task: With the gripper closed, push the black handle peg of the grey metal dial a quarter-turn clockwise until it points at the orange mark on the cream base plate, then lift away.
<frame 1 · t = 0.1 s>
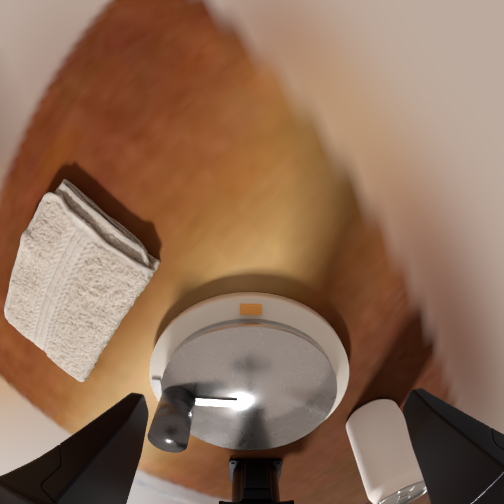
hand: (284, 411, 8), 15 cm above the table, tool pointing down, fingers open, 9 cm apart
dial base: (249, 379, 25), on the table
can: (370, 415, 27), on the table
washcloth: (74, 288, 23), on the table
dial: (249, 417, 21), point 5 cm above the table, hinge at 0.0°
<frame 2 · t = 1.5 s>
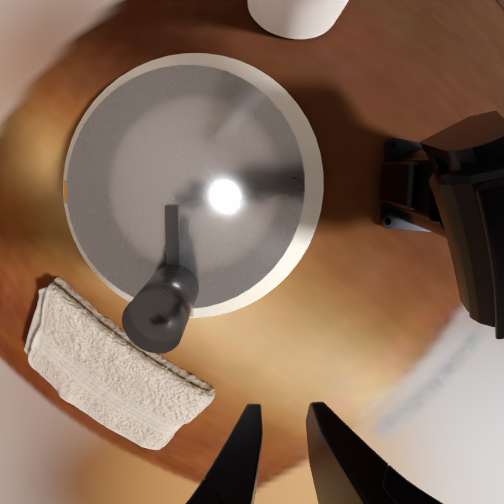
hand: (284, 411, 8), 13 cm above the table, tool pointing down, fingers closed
dial base: (183, 185, 19), on the table
can: (291, 9, 16), on the table
washcloth: (112, 367, 24), on the table
dial: (163, 190, 14), point 5 cm above the table, hinge at 0.0°
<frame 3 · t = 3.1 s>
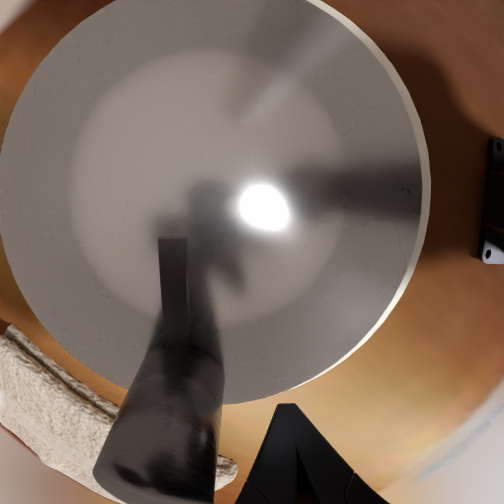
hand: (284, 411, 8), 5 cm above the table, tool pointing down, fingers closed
dial base: (193, 193, 11), on the table
washcloth: (98, 432, 16), on the table
dial: (153, 210, 6), point 5 cm above the table, hinge at 0.1°, touching gripper
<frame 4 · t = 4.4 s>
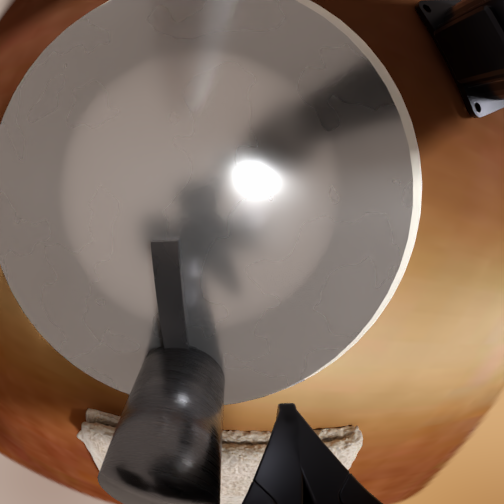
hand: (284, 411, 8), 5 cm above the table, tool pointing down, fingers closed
dial base: (183, 194, 11), on the table
washcloth: (218, 465, 17), on the table
dial: (144, 214, 6), point 5 cm above the table, hinge at 27.4°, touching gripper
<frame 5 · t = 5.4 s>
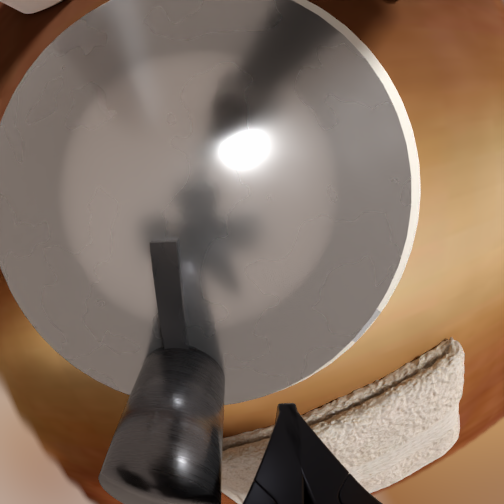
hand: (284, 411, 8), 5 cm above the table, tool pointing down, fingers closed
dial base: (182, 195, 11), on the table
washcloth: (341, 440, 16), on the table
dial: (142, 215, 6), point 5 cm above the table, hinge at 55.0°, touching gripper
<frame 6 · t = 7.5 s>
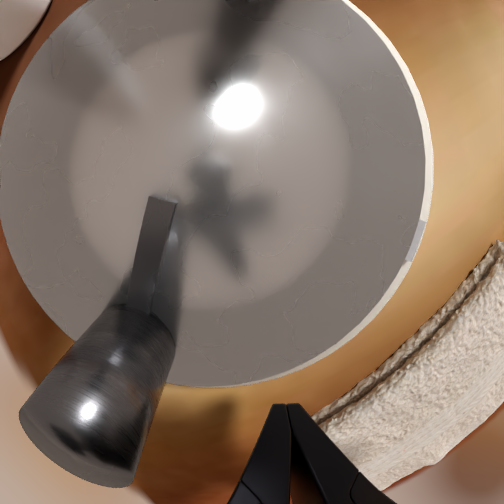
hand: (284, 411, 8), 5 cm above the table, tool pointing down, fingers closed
dial base: (194, 166, 11), on the table
can: (18, 18, 8), on the table
washcloth: (425, 387, 15), on the table
dial: (154, 163, 6), point 5 cm above the table, hinge at 91.9°
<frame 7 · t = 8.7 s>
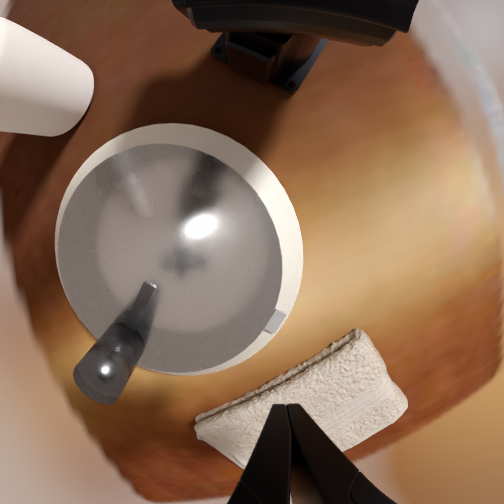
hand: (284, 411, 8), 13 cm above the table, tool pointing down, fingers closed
dial base: (169, 257, 20), on the table
can: (64, 98, 17), on the table
washcloth: (301, 409, 24), on the table
dial: (146, 281, 15), point 5 cm above the table, hinge at 91.9°
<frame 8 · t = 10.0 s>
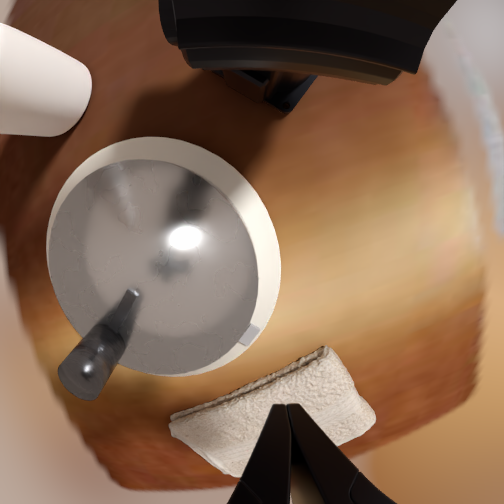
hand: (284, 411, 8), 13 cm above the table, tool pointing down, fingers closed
dial base: (153, 265, 20), on the table
can: (63, 98, 17), on the table
washcloth: (271, 416, 26), on the table
dial: (129, 291, 16), point 5 cm above the table, hinge at 91.9°
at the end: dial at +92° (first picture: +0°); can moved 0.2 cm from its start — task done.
